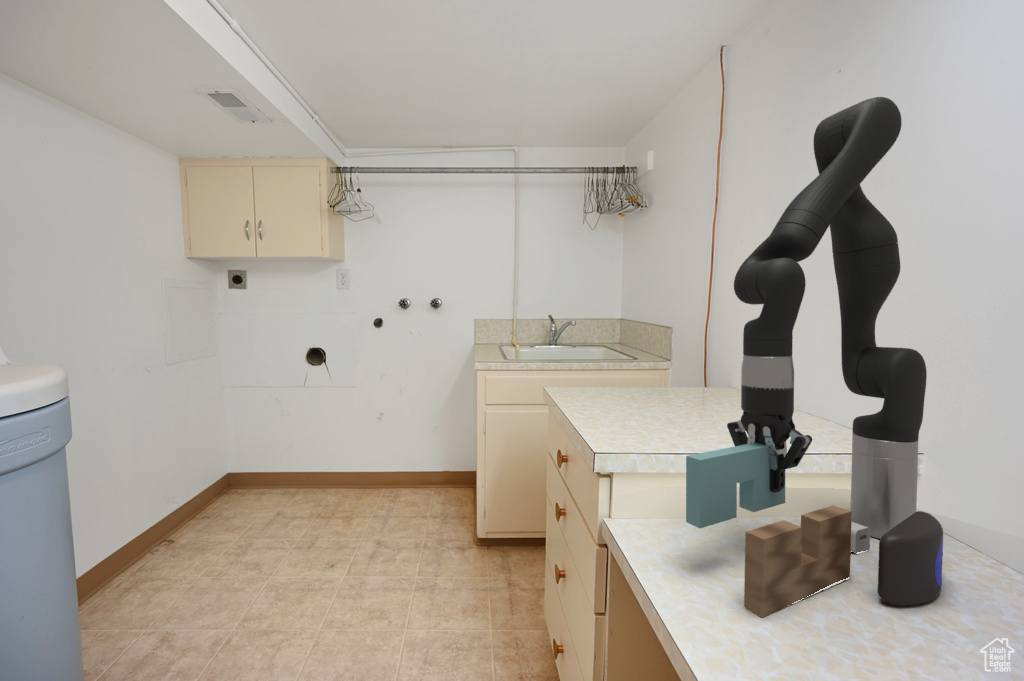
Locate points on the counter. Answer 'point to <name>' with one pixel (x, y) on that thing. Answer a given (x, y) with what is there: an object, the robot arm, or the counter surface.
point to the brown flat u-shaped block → (796, 559)
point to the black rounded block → (911, 561)
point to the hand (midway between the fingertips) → (766, 487)
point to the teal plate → (728, 484)
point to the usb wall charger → (859, 537)
